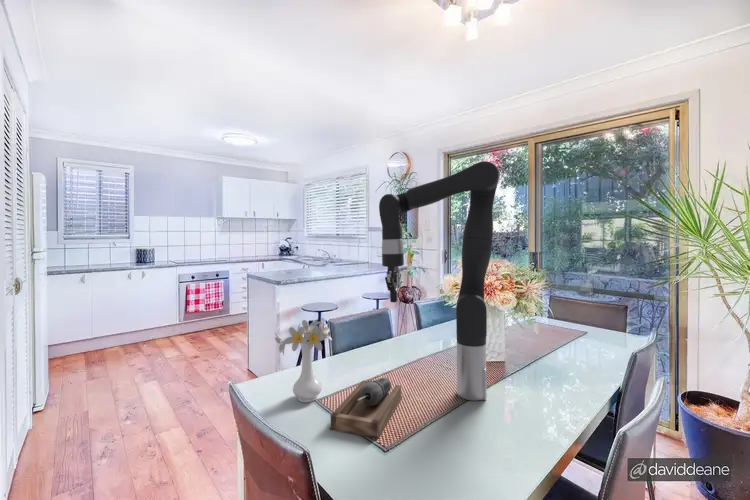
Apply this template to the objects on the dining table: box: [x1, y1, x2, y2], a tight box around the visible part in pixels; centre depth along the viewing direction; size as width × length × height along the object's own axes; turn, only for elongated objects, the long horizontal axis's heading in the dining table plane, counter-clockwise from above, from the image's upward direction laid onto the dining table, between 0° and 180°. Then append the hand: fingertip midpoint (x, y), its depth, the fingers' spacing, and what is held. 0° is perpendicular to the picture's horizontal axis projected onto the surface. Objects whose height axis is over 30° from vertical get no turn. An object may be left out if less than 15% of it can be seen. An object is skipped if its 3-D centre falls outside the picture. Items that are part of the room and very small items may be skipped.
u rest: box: [329, 380, 403, 440], centre depth 102 cm, size 14×24×4 cm, turn 161°
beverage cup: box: [357, 377, 392, 406], centre depth 107 cm, size 7×7×20 cm
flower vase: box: [274, 319, 333, 403], centre depth 111 cm, size 13×18×25 cm
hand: (394, 301), depth 121 cm, fingers closed
